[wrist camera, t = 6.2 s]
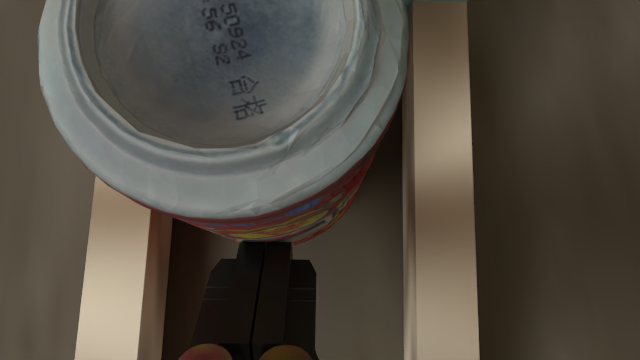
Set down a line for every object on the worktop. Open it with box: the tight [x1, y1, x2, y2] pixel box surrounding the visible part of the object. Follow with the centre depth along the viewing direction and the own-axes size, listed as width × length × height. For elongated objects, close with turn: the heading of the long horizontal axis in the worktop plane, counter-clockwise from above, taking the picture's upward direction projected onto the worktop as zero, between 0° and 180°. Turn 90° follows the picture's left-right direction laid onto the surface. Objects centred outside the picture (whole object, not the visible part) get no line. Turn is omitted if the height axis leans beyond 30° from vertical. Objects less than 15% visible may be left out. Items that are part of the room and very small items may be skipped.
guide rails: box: [75, 0, 480, 360], centre depth 17 cm, size 19×13×2 cm
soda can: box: [38, 0, 409, 245], centre depth 13 cm, size 7×7×12 cm
